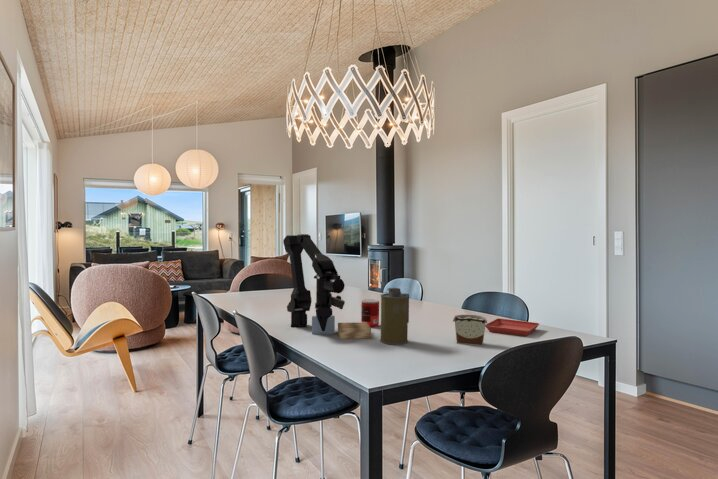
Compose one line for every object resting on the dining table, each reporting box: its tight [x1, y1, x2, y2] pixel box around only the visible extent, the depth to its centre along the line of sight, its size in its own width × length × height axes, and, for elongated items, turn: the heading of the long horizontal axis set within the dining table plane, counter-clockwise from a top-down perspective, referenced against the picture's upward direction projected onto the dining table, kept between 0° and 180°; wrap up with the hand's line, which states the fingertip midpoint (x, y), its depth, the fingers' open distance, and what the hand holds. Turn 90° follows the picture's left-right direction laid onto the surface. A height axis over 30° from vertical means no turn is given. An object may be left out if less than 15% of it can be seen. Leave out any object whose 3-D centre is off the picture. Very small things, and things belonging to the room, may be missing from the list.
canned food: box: [360, 298, 380, 328], centre depth 206 cm, size 8×8×11 cm
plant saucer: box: [485, 318, 540, 337], centre depth 198 cm, size 18×18×3 cm
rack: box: [337, 321, 372, 340], centre depth 187 cm, size 12×12×4 cm
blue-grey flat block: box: [311, 315, 336, 335], centre depth 190 cm, size 9×2×7 cm, turn 97°
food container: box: [452, 314, 488, 347], centre depth 176 cm, size 12×6×10 cm, turn 71°
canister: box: [379, 287, 410, 346], centre depth 177 cm, size 11×10×20 cm
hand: (323, 329), depth 190 cm, fingers open, 6 cm apart
